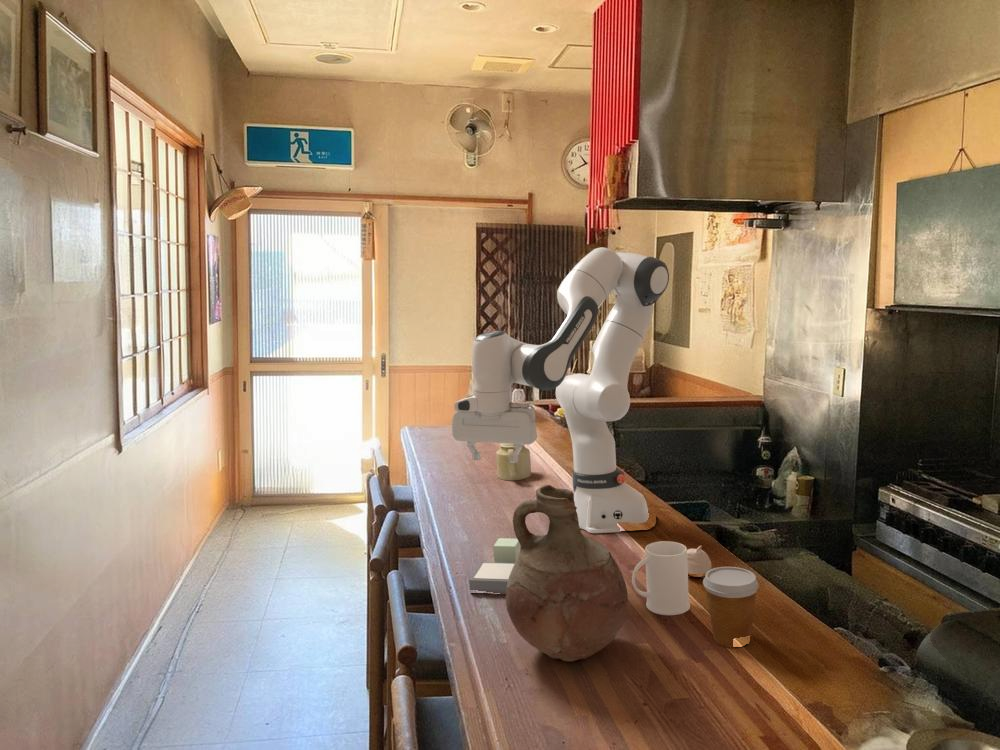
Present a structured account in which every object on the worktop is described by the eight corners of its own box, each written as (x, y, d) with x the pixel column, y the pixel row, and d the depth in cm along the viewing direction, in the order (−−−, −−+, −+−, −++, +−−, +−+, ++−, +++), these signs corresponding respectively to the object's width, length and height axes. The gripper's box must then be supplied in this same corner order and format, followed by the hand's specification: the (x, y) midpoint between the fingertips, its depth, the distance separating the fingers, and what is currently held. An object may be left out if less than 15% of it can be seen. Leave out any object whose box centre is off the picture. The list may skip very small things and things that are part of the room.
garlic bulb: (678, 580, 167) (677, 545, 166) (682, 569, 173) (681, 534, 171) (710, 583, 164) (709, 546, 163) (713, 571, 170) (712, 536, 169)
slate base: (525, 576, 174) (524, 562, 174) (515, 595, 165) (514, 581, 164) (481, 574, 177) (481, 561, 176) (470, 593, 167) (469, 579, 167)
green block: (521, 563, 182) (519, 538, 181) (516, 571, 177) (515, 546, 177) (500, 562, 183) (498, 538, 183) (495, 571, 179) (493, 546, 178)
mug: (640, 621, 149) (638, 561, 148) (624, 603, 158) (621, 546, 156) (697, 611, 152) (695, 552, 150) (678, 594, 160) (676, 538, 158)
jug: (629, 685, 127) (621, 508, 123) (499, 681, 131) (487, 509, 127) (630, 624, 148) (624, 471, 144) (518, 622, 152) (509, 473, 148)
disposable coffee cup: (752, 657, 134) (750, 590, 132) (697, 646, 139) (695, 581, 137) (765, 633, 142) (764, 570, 140) (713, 623, 147) (711, 562, 145)
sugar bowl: (542, 479, 250) (539, 433, 248) (510, 485, 246) (507, 438, 244) (523, 469, 264) (520, 426, 262) (492, 474, 260) (489, 430, 258)
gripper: (540, 401, 179) (541, 460, 181) (459, 398, 187) (462, 455, 189) (530, 406, 173) (532, 467, 175) (447, 403, 181) (450, 461, 183)
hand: (495, 461), depth 182 cm, fingers open, 8 cm apart
